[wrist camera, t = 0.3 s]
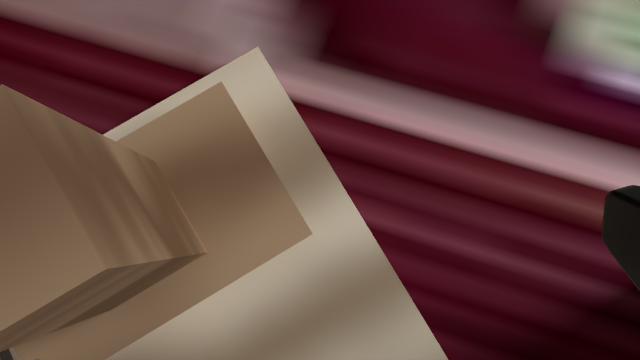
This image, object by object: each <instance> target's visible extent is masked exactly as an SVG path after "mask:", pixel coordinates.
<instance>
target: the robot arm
mask: <svg viewBox="0 0 640 360" xmlns="http://www.w3.org/2000/svg"><path fill="white" fill-rule="evenodd" d="M602 237H603V241H604V243H605V245H606V247H607V248H608V250H609V251H610V253H611V254H612V255H613V257H614V258H615V259H616V261H617V262H618V263H619V265H620V266H621V267H622V269H623V270H624V271H625V273H626V274H627V275H628V276H629V278H630V279H631V280H632V282H633V283H634V284H635V286H636V287H637V288H638V290H639V291H640V186H636V185H631V186H627V187H623V188H620V189H616V190H613V191H611V192H609V193H608V194H607V196H606V198H605V204H604V215H603V225H602ZM36 360H38V359H36Z"/></svg>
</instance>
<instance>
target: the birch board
mask: <svg viewBox="0 0 640 360" xmlns="http://www.w3.org/2000/svg"><path fill="white" fill-rule="evenodd" d="M221 81H222V83H223V85H224V86H225V88H226V90H227V91H228V93H229V95H230V96H231V98H232V100H233V101H234V103H235V105H236V106H237V108H238V110H239V111H240V113H241V115H242V116H243V118H244V120H245V121H246V123H247V125H248V127H249V128H250V130H251V132H252V133H253V135H254V137H255V138H256V140H257V142H258V143H259V145H260V147H261V148H262V150H263V152H264V153H265V155H266V157H267V158H268V160H269V162H270V163H271V165H272V167H273V168H274V170H275V172H276V173H277V175H278V177H279V178H280V180H281V182H282V183H283V185H284V187H285V188H286V190H287V192H288V193H289V195H290V197H291V198H292V200H293V202H294V203H295V205H296V207H297V208H298V210H299V212H300V213H301V215H302V217H303V218H304V220H305V222H306V223H307V225H308V227H309V228H310V230H311V232H312V233H313V234H312V235H310V236H308V237H307V238H305V239H304V240H302V241H300V242H299V243H297V244H295V245H294V246H292V247H290V248H289V249H287V250H285V251H284V252H282V253H280V254H279V255H277V256H275V257H274V258H272V259H270V260H269V261H267V262H266V263H264V264H262V265H261V266H259V267H257V268H256V269H254V270H252V271H251V272H249V273H247V274H246V275H244V276H242V277H241V278H239V279H237V280H236V281H234V282H233V283H231V284H229V285H228V286H226V287H224V288H223V289H221V290H219V291H218V292H216V293H214V294H213V295H211V296H209V297H208V298H206V299H204V300H203V301H201V302H199V303H198V304H196V305H195V306H193V307H191V308H190V309H188V310H186V311H185V312H183V313H181V314H180V315H178V316H176V317H175V318H173V319H171V320H170V321H168V322H166V323H165V324H163V325H161V326H160V327H158V328H157V329H155V330H153V331H152V332H150V333H148V334H147V335H145V336H143V337H142V338H140V339H138V340H137V341H135V342H133V343H132V344H130V345H128V346H127V347H125V348H124V349H122V350H120V351H119V352H117V353H115V354H114V355H112V356H110V357H109V358H107V359H105V360H448V358H447V357H446V355H445V353H444V352H443V350H442V348H441V347H440V345H439V344H438V342H437V340H436V339H435V337H434V335H433V334H432V332H431V330H430V329H429V327H428V325H427V324H426V322H425V321H424V319H423V317H422V316H421V314H420V312H419V311H418V309H417V307H416V306H415V304H414V302H413V301H412V299H411V298H410V296H409V294H408V293H407V291H406V289H405V288H404V286H403V284H402V283H401V281H400V279H399V278H398V276H397V274H396V273H395V271H394V270H393V268H392V266H391V265H390V263H389V261H388V260H387V258H386V256H385V255H384V253H383V251H382V250H381V248H380V247H379V245H378V243H377V242H376V240H375V238H374V237H373V235H372V233H371V232H370V230H369V228H368V227H367V225H366V224H365V222H364V220H363V219H362V217H361V215H360V214H359V212H358V210H357V209H356V207H355V205H354V204H353V202H352V201H351V199H350V197H349V196H348V194H347V192H346V191H345V189H344V187H343V186H342V184H341V182H340V181H339V179H338V177H337V176H336V174H335V173H334V171H333V169H332V168H331V166H330V164H329V163H328V161H327V159H326V158H325V156H324V154H323V153H322V151H321V150H320V148H319V146H318V145H317V143H316V141H315V140H314V138H313V136H312V135H311V133H310V131H309V130H308V128H307V127H306V125H305V123H304V122H303V120H302V118H301V117H300V115H299V113H298V112H297V110H296V108H295V107H294V105H293V104H292V102H291V100H290V99H289V97H288V95H287V94H286V92H285V90H284V89H283V87H282V85H281V84H280V82H279V80H278V79H277V77H276V76H275V74H274V72H273V71H272V69H271V67H270V66H269V64H268V62H267V61H266V59H265V57H264V56H263V54H262V53H261V51H260V49H259V48H258V47H256V48H255V49H253V50H251V51H249V52H248V53H246V54H244V55H242V56H241V57H239V58H237V59H235V60H234V61H232V62H230V63H228V64H227V65H225V66H223V67H221V68H220V69H218V70H216V71H214V72H213V73H211V74H209V75H207V76H205V77H204V78H202V79H200V80H198V81H197V82H195V83H193V84H191V85H190V86H188V87H186V88H184V89H183V90H181V91H179V92H177V93H176V94H174V95H172V96H170V97H169V98H167V99H165V100H163V101H161V102H160V103H158V104H156V105H154V106H153V107H151V108H149V109H147V110H146V111H144V112H142V113H140V114H139V115H137V116H135V117H133V118H132V119H130V120H128V121H126V122H125V123H123V124H121V125H119V126H117V127H116V128H114V129H112V130H110V131H109V132H107V133H105V134H103V135H104V136H106V137H108V138H110V139H112V140H114V141H115V142H116V141H118V140H119V139H121V138H123V137H125V136H126V135H128V134H130V133H132V132H133V131H135V130H137V129H139V128H140V127H142V126H144V125H146V124H147V123H149V122H151V121H153V120H154V119H156V118H158V117H160V116H162V115H163V114H165V113H167V112H169V111H170V110H172V109H174V108H176V107H177V106H179V105H181V104H183V103H184V102H186V101H188V100H190V99H191V98H193V97H195V96H197V95H198V94H200V93H202V92H204V91H205V90H207V89H209V88H211V87H212V86H214V85H216V84H218V83H219V82H221ZM0 360H20V359H19V357H18V356H17V354H16V352H15V350H14V348H13V347H12V348H9V349H7V350H4V351H1V352H0Z"/></svg>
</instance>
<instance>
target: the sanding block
mask: <svg viewBox="0 0 640 360" xmlns="http://www.w3.org/2000/svg"><path fill="white" fill-rule="evenodd" d="M312 234H313V233H312V232H311V230H310V228H309V227H308V225H307V223H306V222H305V220H304V218H303V217H302V215H301V213H300V212H299V210H298V208H297V207H296V205H295V203H294V202H293V200H292V198H291V197H290V195H289V193H288V192H287V190H286V188H285V187H284V185H283V183H282V182H281V180H280V178H279V177H278V175H277V173H276V172H275V170H274V168H273V167H272V165H271V163H270V162H269V160H268V158H267V157H266V155H265V153H264V152H263V150H262V148H261V147H260V145H259V143H258V142H257V140H256V138H255V137H254V135H253V133H252V132H251V130H250V128H249V127H248V125H247V123H246V121H245V120H244V118H243V116H242V115H241V113H240V111H239V110H238V108H237V106H236V105H235V103H234V101H233V100H232V98H231V96H230V95H229V93H228V91H227V90H226V88H225V86H224V85H223V83H222V81H221V82H219V83H218V84H216V85H214V86H212V87H211V88H209V89H207V90H205V91H204V92H202V93H200V94H198V95H197V96H195V97H193V98H191V99H190V100H188V101H186V102H184V103H183V104H181V105H179V106H177V107H176V108H174V109H172V110H170V111H169V112H167V113H165V114H163V115H162V116H160V117H158V118H156V119H154V120H153V121H151V122H149V123H147V124H146V125H144V126H142V127H140V128H139V129H137V130H135V131H133V132H132V133H130V134H128V135H126V136H125V137H123V138H121V139H119V140H118V141H116V142H115V141H114V140H112V139H110V138H108V137H106V136H104V135H102V134H100V133H98V132H96V131H94V130H92V129H90V128H88V127H86V126H84V125H82V124H80V123H78V122H76V121H74V120H72V119H70V118H68V117H66V116H64V115H62V114H60V113H58V112H56V111H54V110H52V109H50V108H48V107H46V106H44V105H42V104H40V103H38V102H36V101H34V100H32V99H30V98H28V97H26V96H24V95H22V94H20V93H19V92H17V91H15V90H13V89H11V88H9V87H7V86H5V85H3V84H2V85H0V352H1V351H4V350H7V349H9V348H12V347H13V348H14V350H15V352H16V354H17V356H18V357H19V359H20V360H36V359H38V360H105V359H107V358H109V357H110V356H112V355H114V354H115V353H117V352H119V351H120V350H122V349H124V348H125V347H127V346H128V345H130V344H132V343H133V342H135V341H137V340H138V339H140V338H142V337H143V336H145V335H147V334H148V333H150V332H152V331H153V330H155V329H157V328H158V327H160V326H161V325H163V324H165V323H166V322H168V321H170V320H171V319H173V318H175V317H176V316H178V315H180V314H181V313H183V312H185V311H186V310H188V309H190V308H191V307H193V306H195V305H196V304H198V303H199V302H201V301H203V300H204V299H206V298H208V297H209V296H211V295H213V294H214V293H216V292H218V291H219V290H221V289H223V288H224V287H226V286H228V285H229V284H231V283H233V282H234V281H236V280H237V279H239V278H241V277H242V276H244V275H246V274H247V273H249V272H251V271H252V270H254V269H256V268H257V267H259V266H261V265H262V264H264V263H266V262H267V261H269V260H270V259H272V258H274V257H275V256H277V255H279V254H280V253H282V252H284V251H285V250H287V249H289V248H290V247H292V246H294V245H295V244H297V243H299V242H300V241H302V240H304V239H305V238H307V237H308V236H310V235H312Z"/></svg>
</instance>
